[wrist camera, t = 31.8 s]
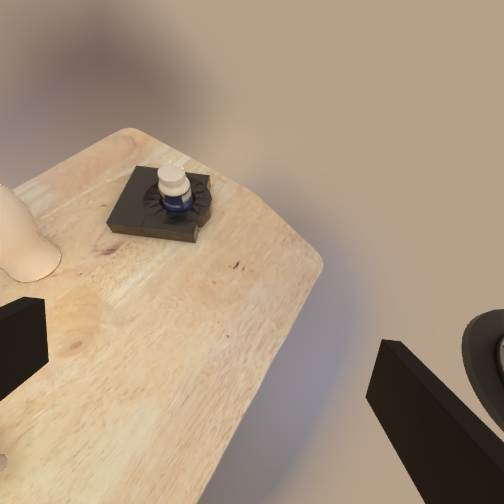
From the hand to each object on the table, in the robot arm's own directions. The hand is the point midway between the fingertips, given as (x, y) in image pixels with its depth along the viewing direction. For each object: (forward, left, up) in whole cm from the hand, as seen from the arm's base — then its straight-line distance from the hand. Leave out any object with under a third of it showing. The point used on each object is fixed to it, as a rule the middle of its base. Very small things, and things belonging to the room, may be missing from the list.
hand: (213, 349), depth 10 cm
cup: (+35, -16, -30) cm, 49 cm away
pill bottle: (+14, -32, -30) cm, 46 cm away
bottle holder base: (+17, -32, -30) cm, 47 cm away
